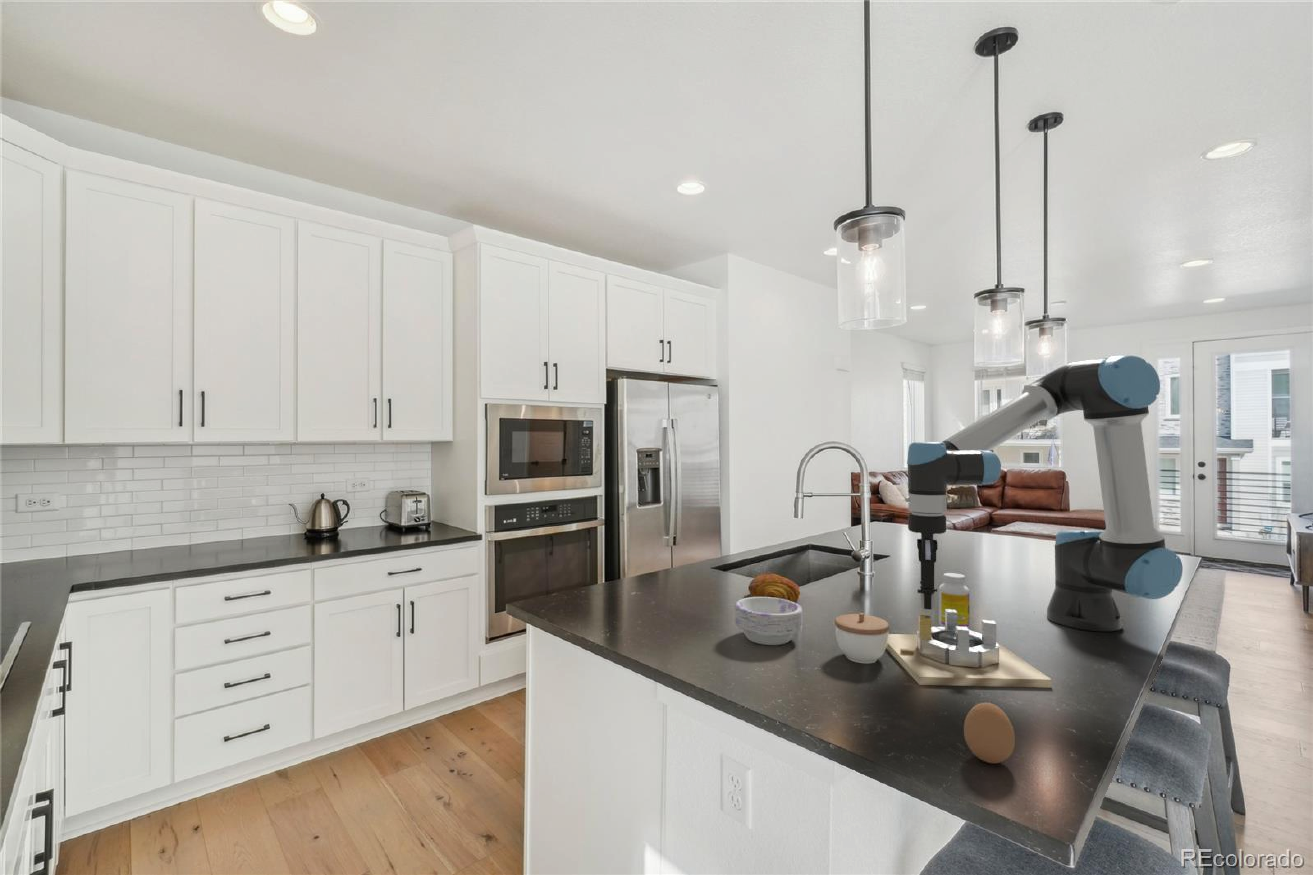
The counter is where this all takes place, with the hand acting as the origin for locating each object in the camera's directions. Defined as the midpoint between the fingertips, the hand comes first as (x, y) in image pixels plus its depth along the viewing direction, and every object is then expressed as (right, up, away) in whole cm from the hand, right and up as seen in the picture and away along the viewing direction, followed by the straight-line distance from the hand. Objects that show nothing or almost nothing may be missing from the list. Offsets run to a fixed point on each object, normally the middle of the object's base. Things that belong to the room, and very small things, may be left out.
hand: (927, 622), depth 129 cm
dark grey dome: (+4, -5, -5) cm, 8 cm away
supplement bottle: (+14, -7, +16) cm, 22 cm away
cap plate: (+4, -6, -5) cm, 9 cm away
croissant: (-25, -7, +42) cm, 49 cm away
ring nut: (+4, -5, -5) cm, 8 cm away
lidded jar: (-15, -7, -3) cm, 17 cm away
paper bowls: (-33, -7, +9) cm, 35 cm away
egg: (-11, -7, -43) cm, 45 cm away
